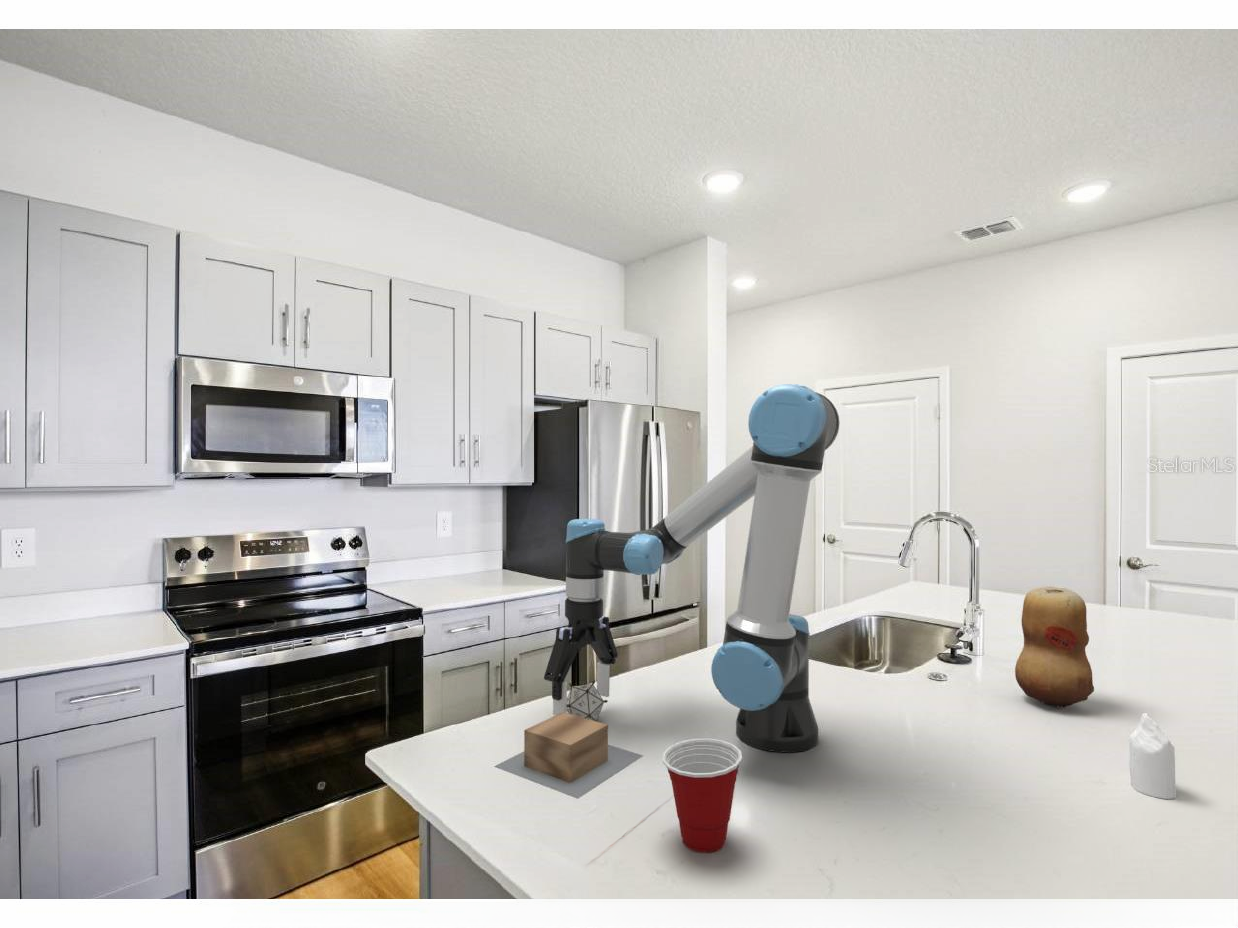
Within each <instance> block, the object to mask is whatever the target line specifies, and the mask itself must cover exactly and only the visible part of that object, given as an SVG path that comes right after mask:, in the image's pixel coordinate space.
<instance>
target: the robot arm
mask: <svg viewBox="0 0 1238 928" xmlns="http://www.w3.org/2000/svg"><path fill="white" fill-rule="evenodd" d="M747 423H748V432H749V434H750V437H751V439H752V441H753V443H752V446H751V447H750V448H749V449H747V450H746V451H745V452H744V453H742V454H741V455H740V456H739V457H738V458H736V459H735V460H733V462H731V463H730V464H729V465H727V466H726V467H725V468H724V469H723V470H721V471H720V472H719V473H718V474H716V476H714V477H713V478H711V480H709V481H708V482H707V483H705V484H704V485H702V487H700V488H699V489H698V490H697V491H695V493H693V494H692V495H691V496H689V497H688V498H687V499H686V500H685V501H683V502H682V503H681V504H680V505H678V506H677V507H676V508H675V509H673V510H672V511H671V512H670V513H669V514H667V515H666V516H665V517H664V518H663V519H661V520H660V521H658V522H657V523H656V524H655V525H654V526H652V527H651V528H649V529H643V530H638V531H637V530H636V531H633V532H617V531H608V530H606V527H605V522H604V521H603V520H601V519H596V518H577V519H576V518H575V519H572V520H569V522H568V523H567V527H566V537H565V538H566V539H565V553H566V554H565V555H566V557H565V570H566V571H565V596H566V599H565V600H564V617H565V618H566V619H567V620H568V624H567V627H565V628H564V627H559V626H558V627H557V628H556V630H555V639H554V640H555V641H554V644H553V647H552V650H551V654H550V656H549V659H548V662H547V666H546V669H545V672H544V676H543V680H545V681H548V682H551V684H552V685H551V689H552V690H551V698H552V701H553V702H552V715H553V716H556V715H558V714H560V713H562V712H565V713H567V697H568V682H567V681H566V680H565V679H566V677H567V675H568V673H569V671H570V669H571V666H572V665H573V662H574V660H575V658H576V655H577V653H578V652H580V651H581V650H582V648H584V647H586V646H590V647H591V648H592V650H593V651H594V653H595V655H596V656H597V658H598V660H599V662H597V664H596V690H597V691H598V693H599V694H600V696H601V697H605V698H609V697H610V684H611V683H610V681H611V679H610V678H611V664H612V665H615V664H616V659H617V658H618V651H617V647H616V645H615V641H614V639H613V634H612V632H611V627H610V618H609V617H608V616H605V615H604V600H603V598H602V597H604V596H605V594H604V592H605V591H604V578H605V577H604V571H610V572H611V571H612V572H619V573H626V574H632V575H636V576H641V575H644V576H645V575H647V576H649V575H651V576H652V575H654V574H656V573H657V572H658V571H659V569H660V568H661V566H662V565H666V564H669V563H672V562H673V561H675V560H677V559H678V558H680V557H681V555H683V552H684V550H685V549H687V548H688V547H689V546H690V545H692V543H694V542H695V541H697V540H698V539H699V538H701V537H702V536H703V535H705V534H706V533H707V532H708V531H710V530H711V529H712V528H714V527H715V526H716V525H717V524H719V523H720V522H721V521H723V520H724V519H725V518H727V517H728V516H729V515H730V514H732V513H733V512H735V511H736V510H737V509H738V508H739V507H741V506H742V505H744V504H745V503H746V502H748V501H749V500H750V499H751V498H753V497H754V498H753V505H752V511H751V516H750V517H751V519H750V524H749V525H750V526H749V531H748V538H747V544H746V550H745V557H744V563H743V571H742V577H741V585H740V591H739V597H738V602H737V608H736V610H735V611H734V612H733V613H731V614H730V615H728V616H727V618H726V621H725V622H726V624H725V630H724V635H723V643H722V646H720V647H719V648H718V649H717V651H716V652H715V653H714V656H713V659H712V661H711V667H710V668H711V670H710V671H711V678H712V681H713V684H714V686H715V688H716V689H717V690H718V692H719V693H720V694H721V696H722V698H723V699H724V700H725V701H726V702H728V703H729V704H731V705H732V706H734V707H736V708H737V709H739V711H738V713H737V716H736V721H735V726H736V727H735V733H736V736H737V738H738V739H739V740H740V741H742V742H743V743H745V744H747V745H748V746H751V747H754V748H757V749H761V750H764V751H771V752H778V753H779V752H780V753H797V752H803V751H807V750H810V749H812V748H814V747H815V746H816V745H818V743H819V726H818V722H817V719H816V717H815V713H814V710H813V707H812V704H811V701H810V697H809V696H810V695H809V690H810V689H809V686H810V685H809V684H810V683H809V681H810V680H809V678H810V675H809V673H810V671H809V669H810V668H809V666H810V665H809V664H810V662H809V661H810V650H809V648H810V637H811V636H810V635H811V633H810V630H809V629H810V628H809V622H808V620H807V618H805V617H803V616H801V615H797V614H791V613H790V611H791V605H792V598H793V593H794V588H795V579H796V573H797V566H798V560H799V554H800V547H801V543H802V535H803V529H804V523H805V517H806V509H807V503H808V498H809V497H808V496H809V491H810V485H811V481H812V480H813V479H814V478H815V477H817V476H818V475H819V474H821V473H822V471H823V470H822V469H823V464H824V458H825V451H826V450H828V449H829V448H830V447H831V446H832V444H833V443H834V442H835V440H836V439H837V436H838V434H839V430H840V415H839V413H838V410H837V407H835V405H834V403H833V402H832V401H831V400H830V399H829V398H828V397H826V396H825V395H823V394H821V393H819V392H816V391H814V390H813V389H812V388H810V387H807V386H805V385H799V384H791V383H789V384H788V383H787V384H779V385H775V386H772V387H771V388H768V389H767V390H765V391H764V392H763V393H761V394H760V395H759V396H758V397H757V398H756V400H754V403H753V405H752V406H751V409H750V411H749V414H748V422H747Z"/></svg>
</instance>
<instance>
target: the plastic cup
mask: <svg viewBox="0 0 1238 928" xmlns="http://www.w3.org/2000/svg"><path fill="white" fill-rule="evenodd" d="M661 760H662V763H663V764H664V766H665V767H666V769H667V772H668V774H669V779H670V782H671V785H672V786H671V787H672V793H673V797H674V799H673V800H674V803H675V808H676V809H675V810H676V814H677V816H676V817H677V818H678V825H679V829H680V830H679V832H680V837H681V838H682V843H683V844H684V845H685V847H686V848H688V849H690V850H691V851H694V852H697V853H707V854H708V853H715V852H717V851H719V850H721V849H722V848H723V847H724V845H725V841H726V840H727V835H728V827H729V822H730V819H731V814H732V813H731V812H732V806H733V800H734V794H735V788H736V787H735V786H736V782H737V776H738V773H739V767H740V764H741V763H742V760H743V756H742V751H741V749H739V747H737V746H736V745H735V744H733V743H731V742H728V741H726V740H720V739H715V738H708V737H707V738H691V739H686V740H681V741H679V742H677V743H674V744H671V745H670V746H668V747H667V748H666V750H665V751H663V752H662V759H661Z"/></svg>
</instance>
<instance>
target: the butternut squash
mask: <svg viewBox="0 0 1238 928" xmlns="http://www.w3.org/2000/svg"><path fill="white" fill-rule="evenodd" d="M1021 613H1022V614H1021V628H1022V634H1023V648H1022V650H1021V652H1020V654H1019V656H1018V658H1017V660H1016V662H1015V668H1014V672H1015V673H1014V675H1015V680H1016V683H1017V684H1018V686H1019V687H1020V688H1021V691H1023V693H1024V694H1025V695H1026V696H1027V697H1029V698H1031V699H1035V700H1036V701H1039V702H1040V703H1042V704H1044V705H1045V706H1049V707H1054V708H1061V709H1062V708H1063V709H1065V708H1066V707H1070V706H1072V705H1075V704H1078V703H1081V702H1084V701H1088V698H1089V697H1090V696H1091V695H1092V694H1093V693H1094V692H1095V687H1094V683H1093V682H1094V681H1093V670H1092V665H1091V664H1090V662H1089V659H1088V656H1087V653H1086V652H1087V651H1086V647H1087V645H1088V644H1089V642H1090V637H1089V633H1088V631H1087V630H1088V621H1087V613H1088V612H1087V606H1086V602H1085V600H1084V599H1083V598H1082V597H1081V595H1079V594H1078V593H1076V592H1075V591H1073V590H1072V589H1067V588H1066V587H1065V588H1064V587H1054V586H1044V587H1043V586H1042V587H1038V588H1033V589H1032V590H1030V591H1028V592H1027V593H1026V594H1025V596H1024V599H1023V604H1022V611H1021Z"/></svg>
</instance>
